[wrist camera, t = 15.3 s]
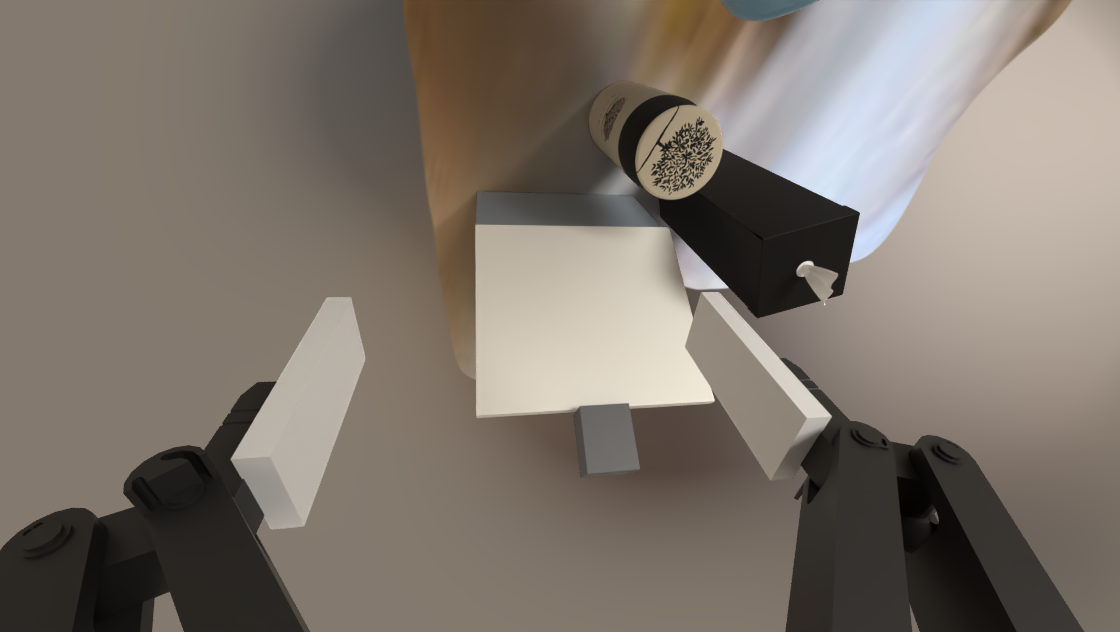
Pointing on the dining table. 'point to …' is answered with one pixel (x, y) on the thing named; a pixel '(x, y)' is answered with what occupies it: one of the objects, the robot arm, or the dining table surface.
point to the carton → (561, 210)
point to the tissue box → (766, 236)
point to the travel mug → (656, 138)
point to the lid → (583, 332)
